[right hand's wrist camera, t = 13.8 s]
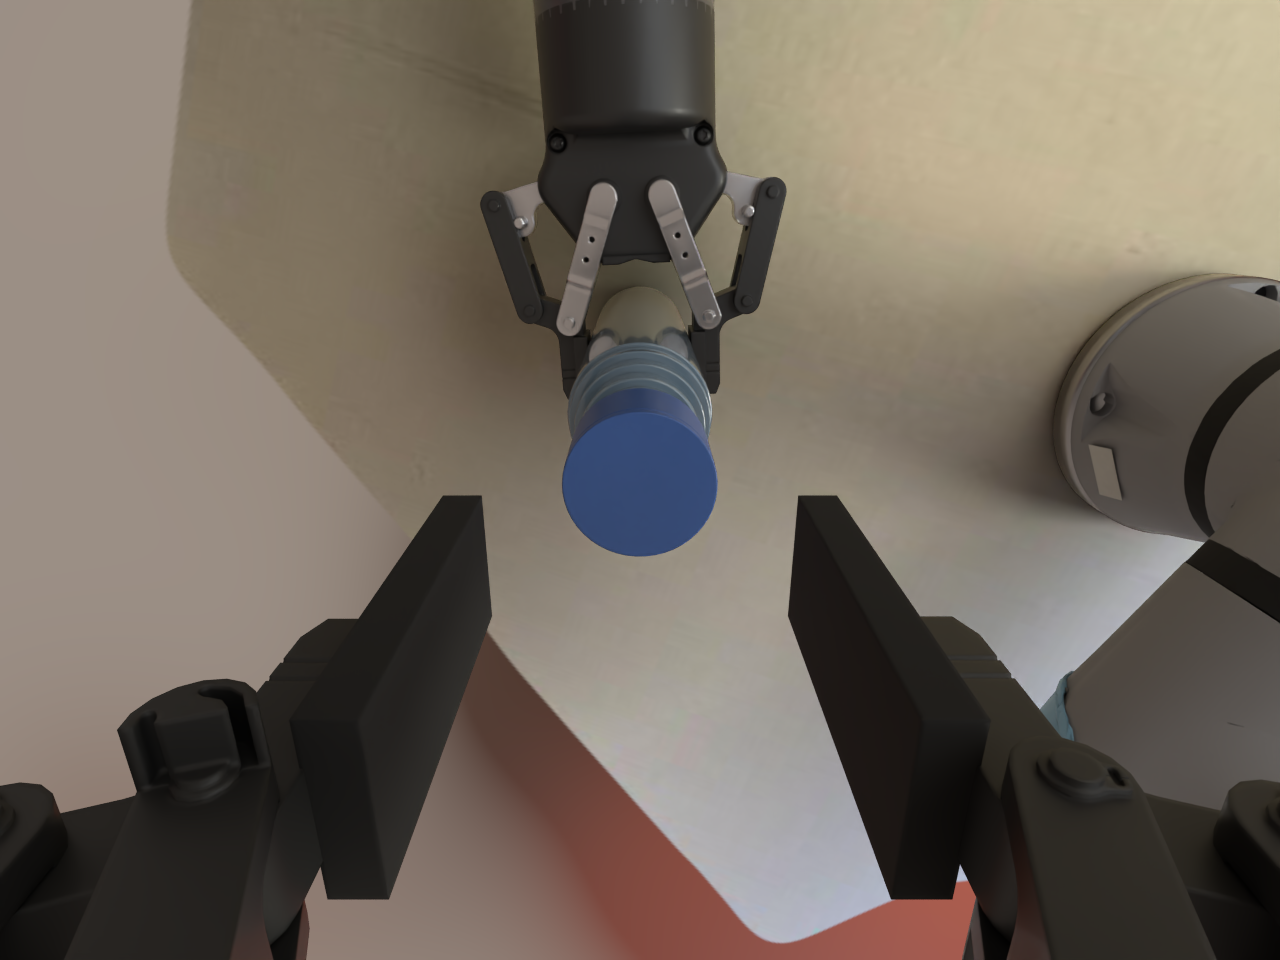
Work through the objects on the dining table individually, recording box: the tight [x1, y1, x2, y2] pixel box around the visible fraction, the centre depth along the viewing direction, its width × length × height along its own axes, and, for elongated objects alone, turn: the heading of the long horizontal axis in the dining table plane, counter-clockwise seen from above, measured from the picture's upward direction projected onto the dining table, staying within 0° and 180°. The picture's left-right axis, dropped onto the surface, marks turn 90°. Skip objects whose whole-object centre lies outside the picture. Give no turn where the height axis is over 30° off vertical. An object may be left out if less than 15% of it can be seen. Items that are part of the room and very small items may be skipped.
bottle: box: [568, 286, 712, 440], centre depth 30 cm, size 5×5×24 cm
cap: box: [562, 388, 718, 556], centre depth 19 cm, size 4×4×2 cm
